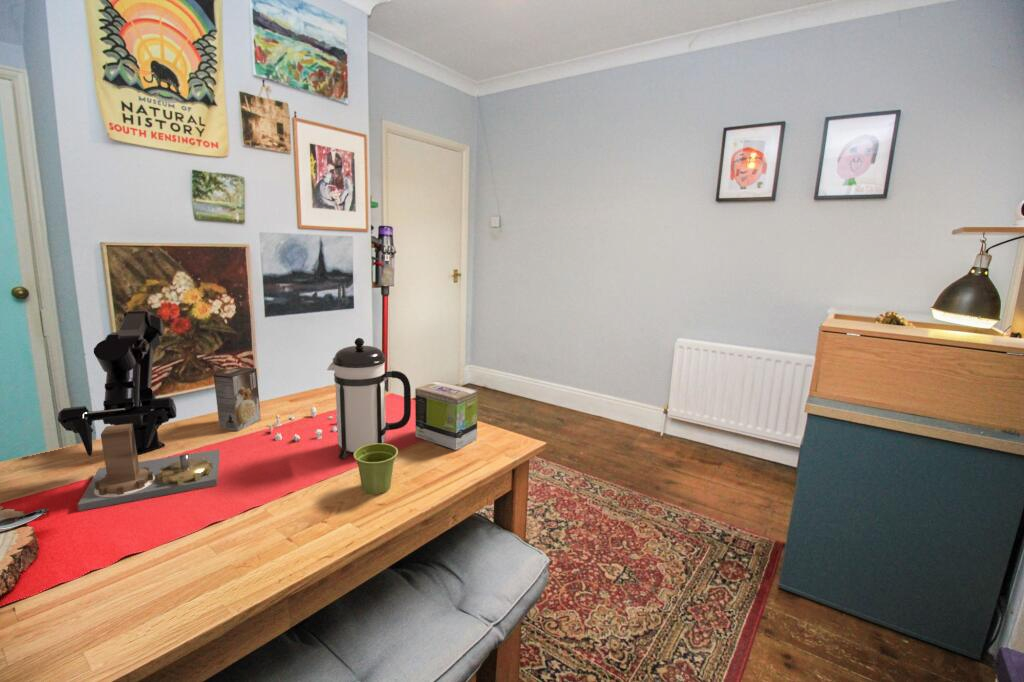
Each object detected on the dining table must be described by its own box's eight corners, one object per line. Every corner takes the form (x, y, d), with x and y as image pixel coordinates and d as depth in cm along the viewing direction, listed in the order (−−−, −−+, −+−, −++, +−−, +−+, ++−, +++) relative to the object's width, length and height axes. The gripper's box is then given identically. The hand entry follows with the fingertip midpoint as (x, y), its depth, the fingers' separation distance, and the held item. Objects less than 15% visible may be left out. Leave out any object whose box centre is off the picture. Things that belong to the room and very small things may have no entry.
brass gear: (149, 476, 102) (146, 457, 101) (198, 459, 110) (196, 442, 110) (172, 490, 97) (170, 470, 96) (221, 471, 106) (219, 453, 105)
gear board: (99, 474, 105) (98, 467, 105) (219, 454, 116) (219, 448, 116) (79, 511, 91) (77, 503, 91) (217, 485, 103) (216, 478, 102)
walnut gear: (102, 478, 100) (93, 424, 98) (156, 469, 105) (149, 417, 102) (90, 500, 92) (80, 441, 90) (149, 489, 97) (141, 433, 94)
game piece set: (293, 413, 145) (293, 402, 144) (354, 420, 143) (354, 408, 142) (251, 439, 126) (250, 426, 126) (320, 447, 124) (319, 433, 123)
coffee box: (243, 417, 140) (238, 365, 137) (261, 419, 139) (257, 367, 135) (218, 429, 131) (212, 374, 128) (238, 431, 130) (233, 376, 127)
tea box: (478, 439, 132) (479, 389, 129) (455, 451, 124) (456, 399, 121) (437, 426, 140) (438, 379, 137) (414, 437, 132) (413, 387, 128)
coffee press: (361, 469, 112) (358, 348, 106) (319, 451, 121) (314, 338, 114) (412, 444, 127) (412, 336, 120) (372, 430, 135) (369, 328, 129)
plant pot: (406, 482, 107) (406, 447, 105) (382, 503, 99) (381, 465, 97) (371, 474, 110) (371, 440, 108) (345, 493, 101) (344, 457, 100)
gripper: (180, 395, 113) (180, 456, 106) (78, 406, 104) (71, 473, 97) (172, 373, 105) (172, 437, 98) (61, 382, 96) (52, 454, 89)
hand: (118, 450), depth 96 cm, fingers open, 9 cm apart
